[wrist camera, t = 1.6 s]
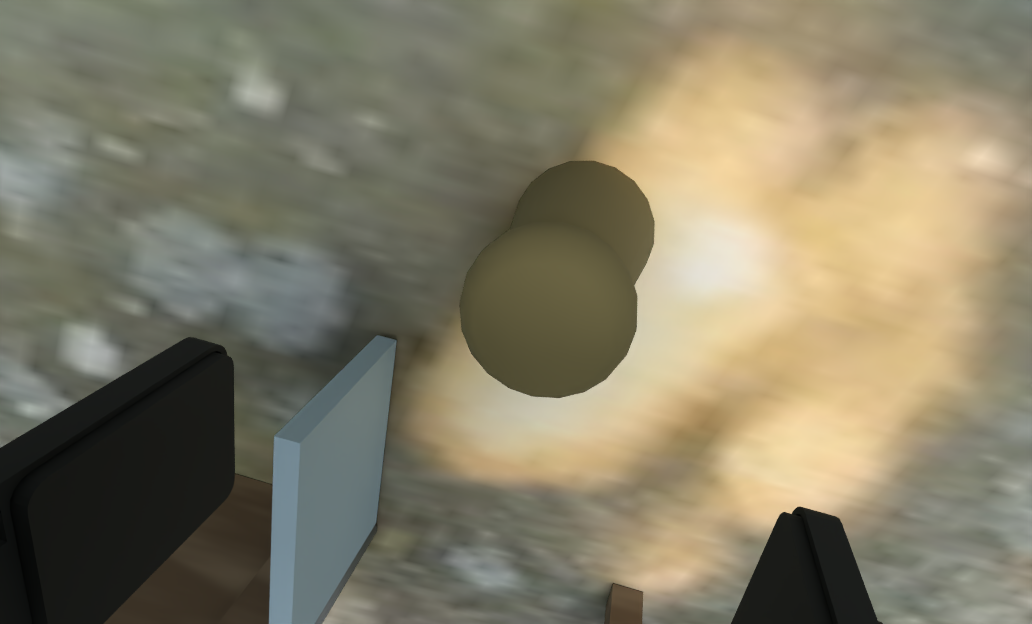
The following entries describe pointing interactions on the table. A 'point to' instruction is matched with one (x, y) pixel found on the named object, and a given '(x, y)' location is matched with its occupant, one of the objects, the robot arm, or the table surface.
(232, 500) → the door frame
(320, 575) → the door
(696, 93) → the table surface
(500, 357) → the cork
